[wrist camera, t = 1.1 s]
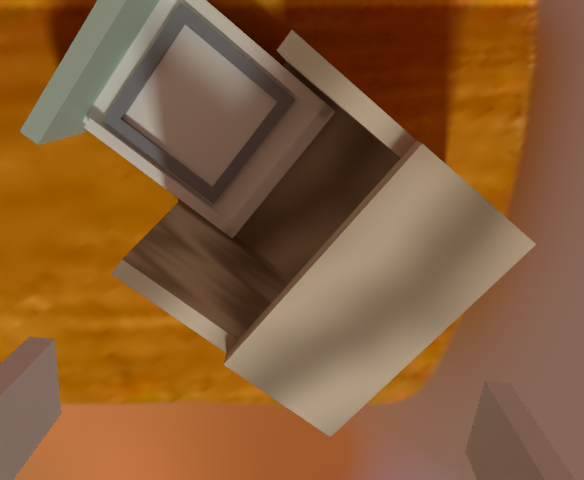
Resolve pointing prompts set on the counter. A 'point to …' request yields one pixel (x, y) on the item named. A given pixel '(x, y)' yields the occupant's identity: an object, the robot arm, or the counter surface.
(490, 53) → the counter surface
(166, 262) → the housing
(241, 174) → the tray
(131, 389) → the counter surface
